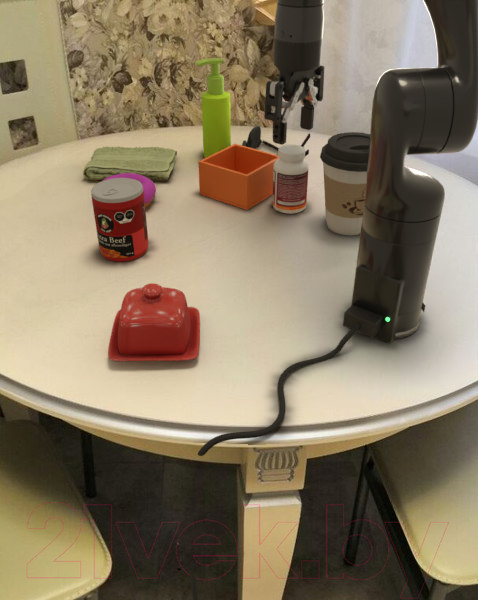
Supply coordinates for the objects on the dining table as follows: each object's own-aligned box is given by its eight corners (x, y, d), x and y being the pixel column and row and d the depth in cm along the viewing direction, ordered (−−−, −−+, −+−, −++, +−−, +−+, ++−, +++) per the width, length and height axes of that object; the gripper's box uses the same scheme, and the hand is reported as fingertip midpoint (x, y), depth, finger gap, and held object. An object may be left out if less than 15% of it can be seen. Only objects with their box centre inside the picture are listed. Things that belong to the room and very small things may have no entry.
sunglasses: (303, 179, 123) (305, 155, 120) (233, 172, 126) (233, 148, 123) (317, 149, 136) (318, 126, 133) (253, 143, 139) (253, 121, 136)
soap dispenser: (195, 153, 134) (190, 57, 122) (224, 148, 136) (222, 53, 125) (205, 163, 129) (201, 64, 118) (235, 158, 132) (234, 60, 120)
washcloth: (171, 183, 121) (170, 168, 119) (82, 183, 121) (79, 167, 120) (178, 158, 132) (177, 143, 130) (96, 157, 132) (94, 142, 130)
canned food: (90, 255, 99) (79, 192, 92) (120, 234, 104) (112, 173, 98) (129, 267, 96) (121, 203, 89) (158, 244, 102) (152, 182, 95)
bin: (247, 210, 112) (247, 176, 108) (199, 194, 117) (198, 161, 113) (281, 189, 119) (282, 156, 115) (234, 174, 125) (234, 143, 121)
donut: (149, 216, 110) (147, 192, 107) (93, 213, 111) (90, 189, 108) (161, 191, 118) (159, 169, 116) (109, 189, 119) (106, 166, 117)
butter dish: (201, 313, 86) (198, 260, 81) (199, 368, 77) (196, 312, 72) (118, 314, 86) (111, 262, 81) (106, 370, 76) (97, 314, 71)
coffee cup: (329, 245, 101) (337, 159, 93) (305, 215, 110) (310, 133, 102) (392, 236, 104) (406, 151, 95) (363, 207, 113) (373, 126, 104)
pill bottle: (313, 209, 112) (317, 151, 106) (285, 218, 109) (288, 158, 103) (292, 196, 116) (295, 140, 110) (265, 204, 114) (267, 147, 107)
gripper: (294, 47, 89) (288, 153, 99) (342, 29, 99) (333, 128, 108) (252, 40, 93) (251, 143, 102) (302, 23, 102) (297, 119, 112)
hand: (293, 135), depth 105 cm, fingers open, 8 cm apart
